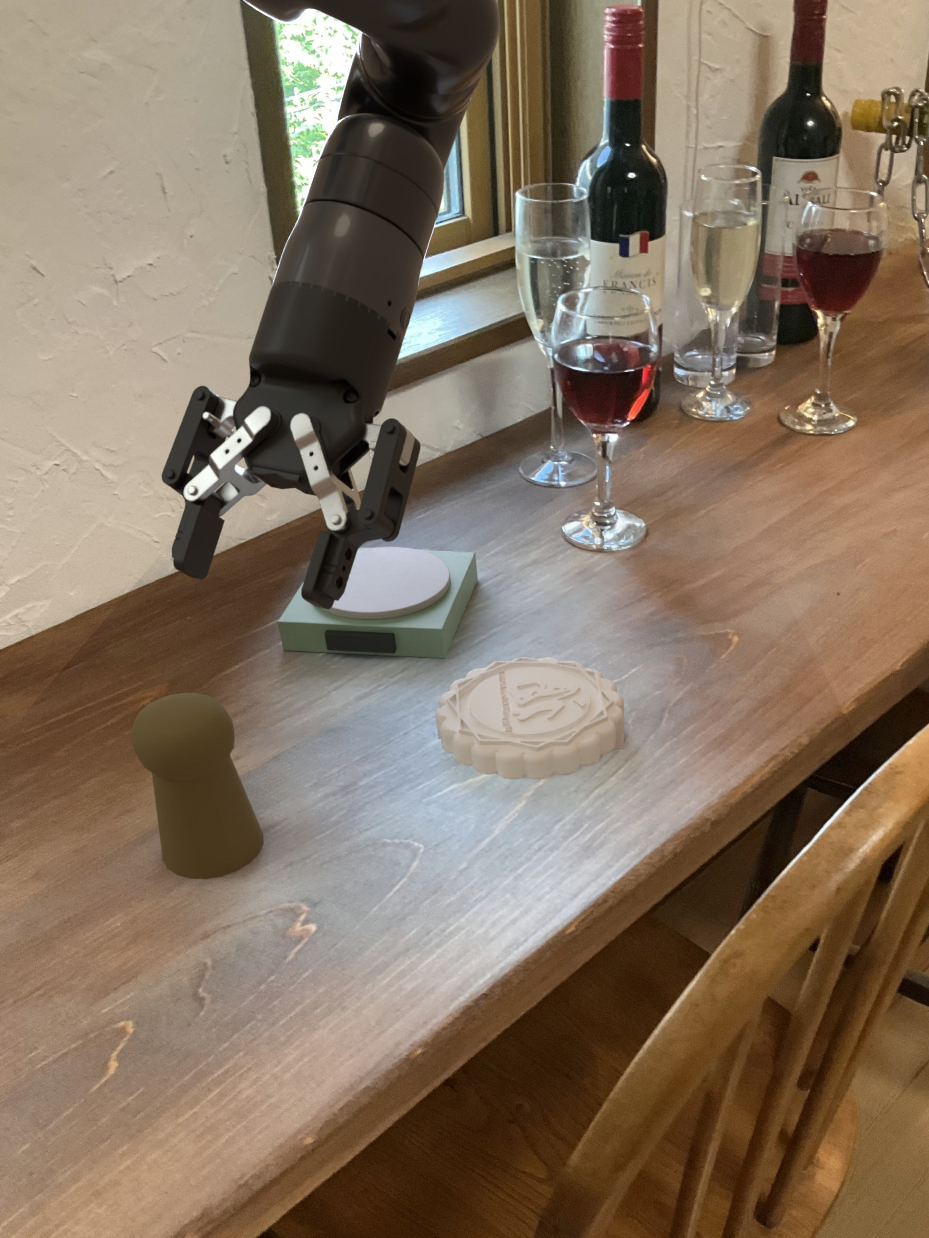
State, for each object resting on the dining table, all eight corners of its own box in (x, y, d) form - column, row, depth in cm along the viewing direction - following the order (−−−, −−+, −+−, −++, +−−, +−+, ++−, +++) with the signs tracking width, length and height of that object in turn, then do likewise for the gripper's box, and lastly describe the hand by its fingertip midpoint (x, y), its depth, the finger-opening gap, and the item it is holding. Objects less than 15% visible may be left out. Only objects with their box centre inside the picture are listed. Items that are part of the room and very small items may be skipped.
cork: (158, 851, 75) (110, 692, 68) (261, 824, 76) (224, 667, 70) (173, 915, 70) (123, 752, 63) (282, 885, 72) (245, 724, 65)
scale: (280, 654, 92) (273, 617, 90) (330, 573, 102) (324, 538, 100) (443, 662, 91) (439, 625, 89) (477, 579, 101) (474, 544, 99)
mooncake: (637, 790, 79) (637, 743, 76) (443, 809, 77) (437, 761, 75) (611, 687, 88) (610, 642, 86) (437, 702, 87) (431, 656, 84)
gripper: (194, 262, 70) (103, 542, 69) (418, 291, 65) (324, 592, 64) (270, 332, 77) (188, 587, 76) (477, 363, 72) (393, 635, 71)
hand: (250, 589), depth 70 cm, fingers open, 8 cm apart
